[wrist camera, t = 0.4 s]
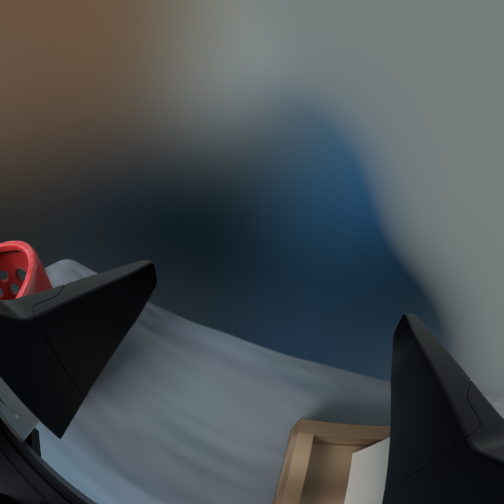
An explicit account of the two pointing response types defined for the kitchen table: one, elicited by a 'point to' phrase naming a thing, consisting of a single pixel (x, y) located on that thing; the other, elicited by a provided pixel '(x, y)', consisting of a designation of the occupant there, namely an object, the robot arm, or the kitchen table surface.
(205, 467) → the kitchen table surface
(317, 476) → the dock
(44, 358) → the robot arm
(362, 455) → the grey matte cuboid
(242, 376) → the kitchen table surface
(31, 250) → the plant pot
